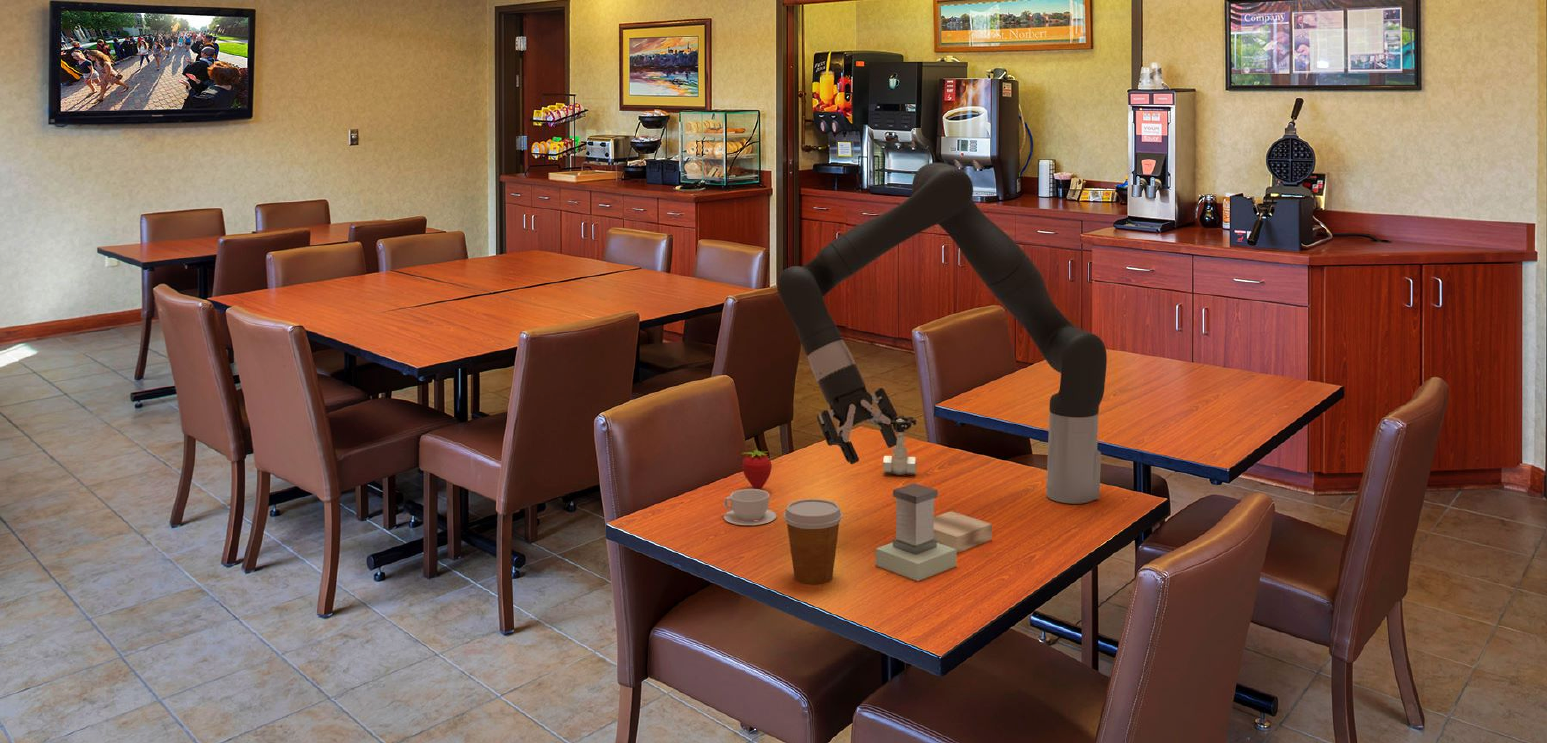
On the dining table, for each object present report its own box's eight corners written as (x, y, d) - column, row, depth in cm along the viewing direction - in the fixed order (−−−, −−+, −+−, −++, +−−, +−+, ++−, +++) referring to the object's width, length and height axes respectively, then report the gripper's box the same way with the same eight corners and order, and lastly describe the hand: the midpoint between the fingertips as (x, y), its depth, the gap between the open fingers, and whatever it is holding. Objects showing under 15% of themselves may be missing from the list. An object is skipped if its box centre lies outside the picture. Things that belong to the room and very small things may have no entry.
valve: (914, 480, 246) (914, 423, 243) (882, 478, 247) (882, 422, 244) (916, 470, 252) (917, 415, 249) (885, 469, 253) (886, 414, 251)
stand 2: (950, 526, 218) (950, 511, 218) (991, 540, 211) (992, 524, 211) (915, 539, 212) (915, 523, 212) (956, 553, 205) (956, 537, 204)
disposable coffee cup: (782, 567, 200) (780, 499, 198) (838, 564, 201) (838, 496, 198) (787, 589, 191) (786, 518, 188) (846, 587, 192) (846, 516, 189)
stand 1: (914, 551, 207) (914, 534, 206) (956, 566, 200) (956, 549, 199) (875, 565, 200) (875, 548, 200) (917, 581, 193) (918, 564, 193)
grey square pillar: (913, 539, 204) (914, 483, 202) (936, 547, 200) (937, 490, 198) (892, 546, 200) (893, 489, 198) (915, 554, 197) (916, 497, 194)
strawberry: (746, 498, 236) (744, 449, 234) (739, 487, 243) (738, 439, 241) (775, 496, 237) (774, 447, 235) (768, 484, 244) (767, 437, 242)
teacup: (783, 512, 228) (782, 488, 227) (767, 529, 219) (766, 505, 218) (733, 508, 231) (732, 484, 230) (716, 525, 222) (715, 501, 221)
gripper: (812, 377, 205) (852, 463, 203) (877, 352, 212) (916, 435, 210) (794, 390, 212) (832, 473, 210) (857, 365, 218) (895, 446, 216)
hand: (874, 454), depth 210 cm, fingers open, 8 cm apart
